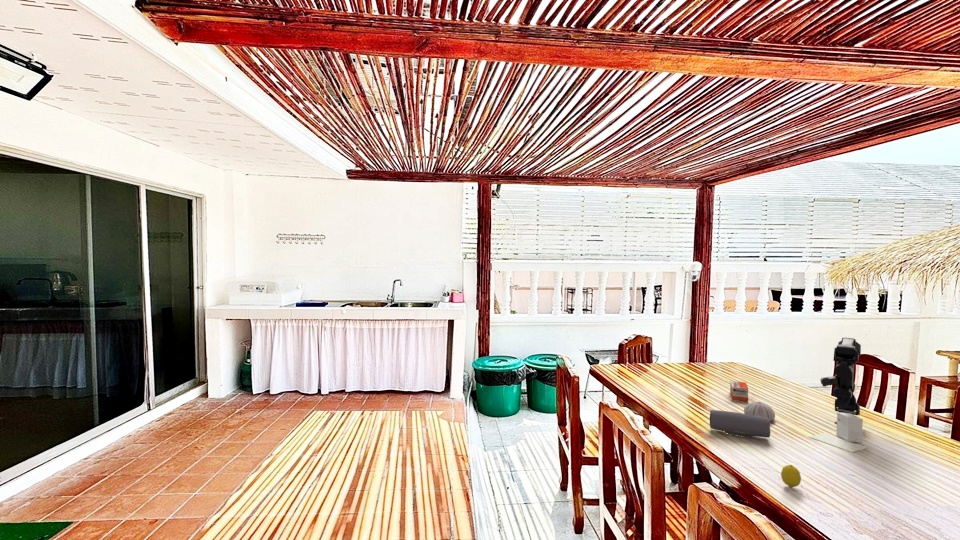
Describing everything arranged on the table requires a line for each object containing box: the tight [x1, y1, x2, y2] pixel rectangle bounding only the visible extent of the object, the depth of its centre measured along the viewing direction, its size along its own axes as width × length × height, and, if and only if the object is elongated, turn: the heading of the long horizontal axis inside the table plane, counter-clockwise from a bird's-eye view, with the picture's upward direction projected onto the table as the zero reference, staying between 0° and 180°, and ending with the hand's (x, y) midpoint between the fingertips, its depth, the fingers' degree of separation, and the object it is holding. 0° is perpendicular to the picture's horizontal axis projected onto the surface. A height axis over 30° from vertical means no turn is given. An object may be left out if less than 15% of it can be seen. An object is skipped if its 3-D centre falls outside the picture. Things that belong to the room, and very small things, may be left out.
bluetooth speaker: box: [709, 409, 771, 439], centre depth 190 cm, size 23×9×10 cm, turn 65°
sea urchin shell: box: [743, 401, 776, 422], centre depth 212 cm, size 13×14×8 cm
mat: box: [809, 432, 867, 453], centre depth 183 cm, size 11×16×1 cm
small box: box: [836, 411, 864, 444], centre depth 187 cm, size 8×6×10 cm
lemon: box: [780, 464, 802, 489], centre depth 146 cm, size 6×6×8 cm
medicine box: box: [729, 380, 749, 403], centre depth 243 cm, size 15×8×8 cm, turn 152°
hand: (843, 407), depth 191 cm, fingers open, 9 cm apart
